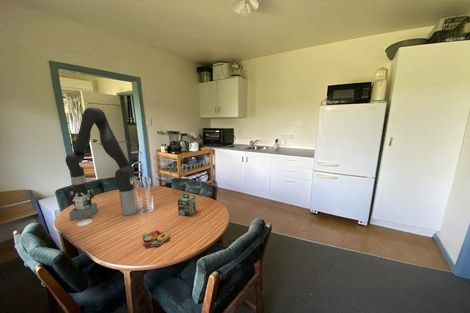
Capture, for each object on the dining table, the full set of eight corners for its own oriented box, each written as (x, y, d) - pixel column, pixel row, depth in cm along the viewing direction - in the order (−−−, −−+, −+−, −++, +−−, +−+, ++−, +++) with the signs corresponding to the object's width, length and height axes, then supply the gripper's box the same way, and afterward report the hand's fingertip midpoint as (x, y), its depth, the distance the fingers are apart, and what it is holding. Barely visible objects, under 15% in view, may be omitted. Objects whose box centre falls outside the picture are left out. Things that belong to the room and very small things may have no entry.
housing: (97, 210, 140) (96, 202, 139) (90, 218, 130) (89, 209, 128) (79, 212, 137) (77, 204, 136) (70, 220, 127) (69, 211, 125)
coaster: (94, 219, 128) (94, 218, 128) (89, 225, 121) (89, 224, 121) (80, 220, 126) (80, 220, 126) (74, 227, 119) (74, 226, 119)
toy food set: (172, 240, 106) (172, 234, 106) (148, 252, 97) (148, 246, 96) (160, 230, 115) (160, 225, 114) (137, 241, 105) (137, 235, 105)
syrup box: (84, 217, 130) (81, 197, 127) (77, 216, 131) (73, 197, 128) (92, 213, 136) (89, 194, 133) (85, 212, 137) (81, 193, 134)
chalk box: (196, 210, 139) (195, 191, 136) (190, 216, 130) (188, 196, 127) (185, 209, 142) (183, 190, 139) (178, 215, 133) (176, 195, 130)
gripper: (93, 179, 134) (97, 201, 137) (69, 181, 130) (73, 204, 134) (88, 183, 127) (92, 206, 130) (63, 185, 123) (67, 208, 127)
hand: (83, 205), depth 132 cm, fingers closed on syrup box, 7 cm apart
